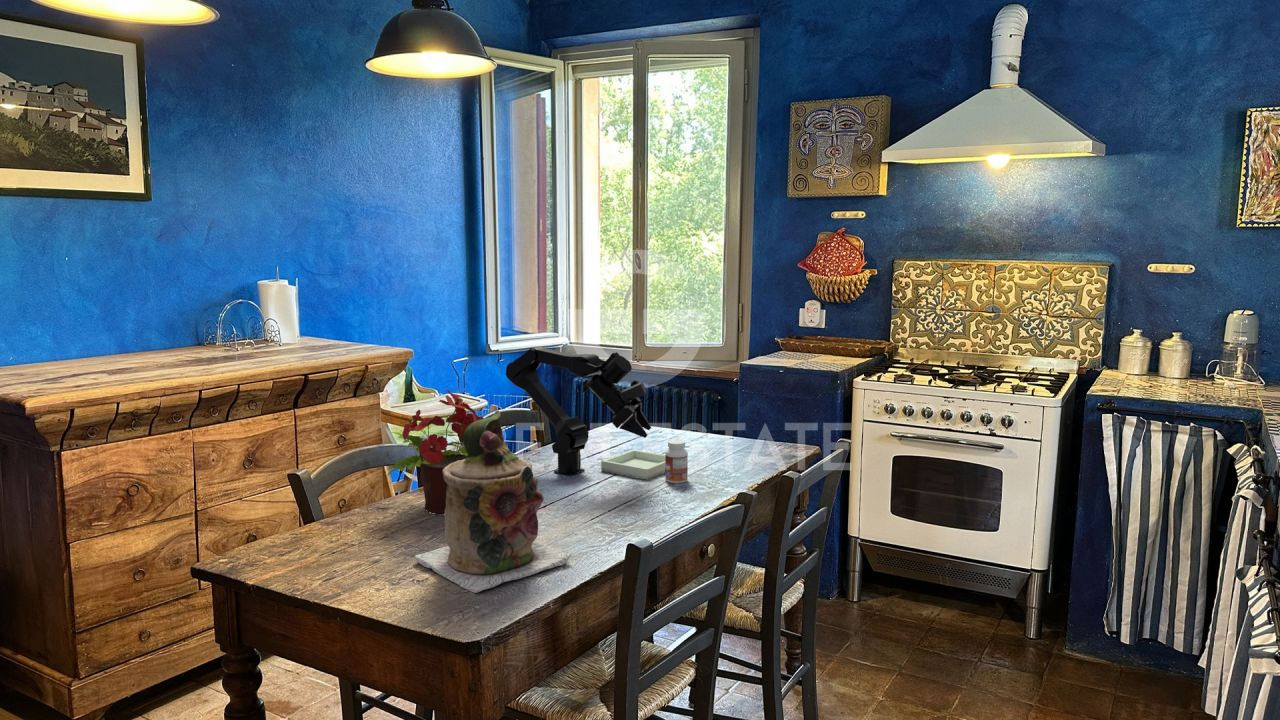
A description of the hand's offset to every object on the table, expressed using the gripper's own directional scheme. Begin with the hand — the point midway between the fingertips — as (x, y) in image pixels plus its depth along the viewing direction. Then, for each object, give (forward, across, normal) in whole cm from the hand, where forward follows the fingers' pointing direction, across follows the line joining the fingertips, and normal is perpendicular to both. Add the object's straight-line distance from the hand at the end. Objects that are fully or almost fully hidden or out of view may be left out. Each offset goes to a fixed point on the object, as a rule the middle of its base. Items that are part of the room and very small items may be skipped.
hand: (648, 432), depth 245 cm
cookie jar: (-8, -65, +28) cm, 71 cm away
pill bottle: (+15, 0, +4) cm, 16 cm away
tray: (+7, +11, +12) cm, 17 cm away
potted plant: (-24, -27, +43) cm, 56 cm away
